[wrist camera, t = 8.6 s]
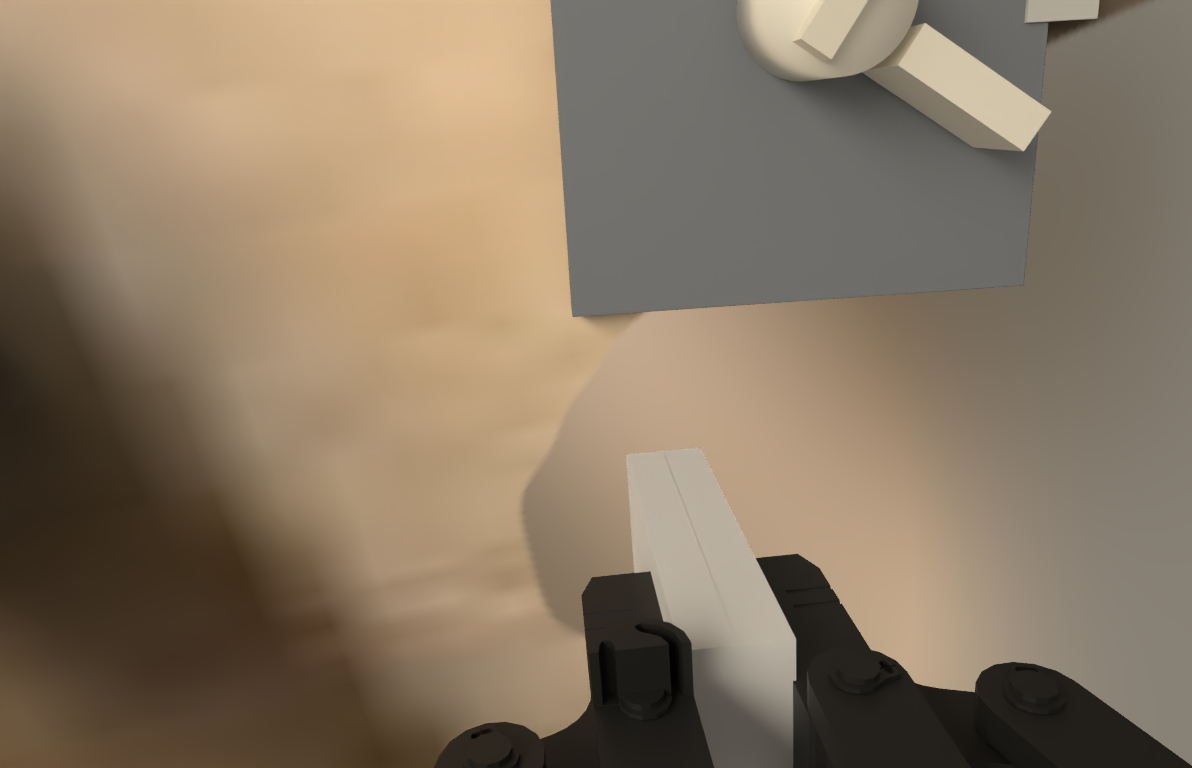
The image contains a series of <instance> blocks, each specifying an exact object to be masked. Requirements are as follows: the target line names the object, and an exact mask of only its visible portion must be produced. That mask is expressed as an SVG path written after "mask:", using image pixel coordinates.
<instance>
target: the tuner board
mask: <svg viewBox="0 0 1192 768" xmlns="http://www.w3.org/2000/svg"><path fill="white" fill-rule="evenodd" d="M1098 9H1099V0H919V1H918V6H917V10H916V13H915V17H914V19H913V21H912V24H911V26H915V25H919V24H923V23H926V24H928V25H929V26H930V27H932V28H933V29H935V30H936V31H938V32H939V33H940V34H942V35H943V36H945V37H946V38H947V39H949V40H950V41H952V42H953V43H955V44H956V45H957V46H959V47H960V48H962V49H963V50H965V51H966V52H967V53H969V54H970V55H972V56H973V57H974V58H976V59H977V60H979V61H980V62H982V63H983V64H984V65H986V66H987V67H989V68H990V69H992V70H993V71H994V72H996V73H997V74H999V75H1000V76H1002V77H1003V78H1004V79H1006V80H1007V81H1009V82H1010V83H1011V84H1013V85H1014V86H1016V87H1017V88H1019V89H1020V90H1021V91H1023V92H1024V93H1026V94H1027V95H1029V96H1030V97H1031V98H1033V99H1034V100H1036V101H1037V102H1038V103H1040V104H1041V97H1042V86H1043V76H1044V65H1045V55H1046V44H1047V34H1048V23H1049V21H1066V20H1083V19H1097V18H1098ZM551 12H552V27H553V41H554V56H555V71H556V85H557V100H558V115H559V129H560V144H561V158H562V173H563V188H564V202H565V217H566V232H567V246H568V261H569V276H570V290H571V305H572V315H573V317H578V316H593V315H607V314H621V313H636V312H650V311H664V310H679V309H693V308H707V307H722V306H736V305H750V304H765V303H779V302H792V301H808V300H822V299H835V298H851V297H865V296H878V295H894V294H908V293H922V292H936V291H951V290H965V289H979V288H994V287H1008V286H1022V285H1024V276H1025V266H1026V254H1027V245H1028V234H1029V223H1030V213H1031V202H1032V192H1033V181H1034V171H1035V160H1036V150H1037V138H1038V132H1037V133H1036V135H1035V136H1034V137H1033V139H1032V140H1031V142H1030V143H1029V145H1028V146H1027V148H1026V149H1025V150H1024V151H1012V150H1000V149H987V148H974V147H971V146H970V145H968V144H967V143H966V142H964V141H963V140H961V139H960V138H958V137H957V136H955V135H954V134H952V133H951V132H949V131H948V130H946V129H945V128H943V127H942V126H940V125H939V124H937V123H936V122H934V121H933V120H931V119H930V118H929V117H927V116H926V115H924V114H923V113H921V112H920V111H918V110H917V109H915V108H914V107H912V106H911V105H909V104H908V103H906V102H905V101H903V100H902V99H900V98H899V97H897V96H896V95H895V94H893V93H892V92H890V91H889V90H887V89H886V88H884V87H883V86H881V85H880V84H878V83H877V82H875V81H874V80H872V79H871V78H869V77H868V76H866V75H865V74H863V73H862V72H861V73H858V74H855V75H850V76H845V77H837V78H829V79H821V80H813V81H802V82H797V81H789V80H784V79H781V78H778V77H776V76H773V75H772V74H770V73H768V72H766V71H765V70H764V69H762V68H761V67H760V66H759V65H758V64H757V63H756V62H755V61H754V60H753V59H752V57H751V56H750V55H749V53H748V52H747V50H746V48H745V46H744V44H743V42H742V39H741V37H740V33H739V29H738V24H737V0H551ZM911 26H910V27H911Z"/></svg>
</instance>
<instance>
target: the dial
mask: <svg viewBox="0 0 1192 768" xmlns="http://www.w3.org/2000/svg"><path fill="white" fill-rule="evenodd" d="M918 1H919V0H737V24H738V29H739V33H740V37H741V39H742V42H743V44H744V46H745V48H746V50H747V52H748V53H749V55H750V56H751V57H752V59H753V60H754V61H755V62H756V63H757V64H758V65H759V66H760V67H761V68H762V69H764V70H765V71H766V72H768V73H770V74H772V75H773V76H776V77H778V78H781V79H784V80H789V81H797V82H802V81H813V80H821V79H829V78H837V77H845V76H850V75H855V74H858V73H861V72H862V73H863V74H865V75H866V76H868V77H869V78H871V79H872V80H874V81H875V82H877V83H878V84H880V85H881V86H883V87H884V88H886V89H887V90H889V91H890V92H892V93H893V94H895V95H896V96H897V97H899V98H900V99H902V100H903V101H905V102H906V103H908V104H909V105H911V106H912V107H914V108H915V109H917V110H918V111H920V112H921V113H923V114H924V115H926V116H927V117H929V118H930V119H931V120H933V121H934V122H936V123H937V124H939V125H940V126H942V127H943V128H945V129H946V130H948V131H949V132H951V133H952V134H954V135H955V136H957V137H958V138H960V139H961V140H963V141H964V142H966V143H967V144H968V145H970V146H971V147H974V148H987V149H1000V150H1012V151H1024V150H1025V149H1026V148H1027V146H1028V145H1029V143H1030V142H1031V140H1032V139H1033V137H1034V136H1035V135H1036V133H1037V132H1038V130H1039V129H1040V127H1041V126H1042V125H1043V123H1044V122H1045V120H1046V119H1047V117H1048V116H1049V114H1050V113H1051V111H1050V110H1048V109H1047V108H1046V107H1044V106H1043V105H1041V104H1040V103H1038V102H1037V101H1036V100H1034V99H1033V98H1031V97H1030V96H1029V95H1027V94H1026V93H1024V92H1023V91H1021V90H1020V89H1019V88H1017V87H1016V86H1014V85H1013V84H1011V83H1010V82H1009V81H1007V80H1006V79H1004V78H1003V77H1002V76H1000V75H999V74H997V73H996V72H994V71H993V70H992V69H990V68H989V67H987V66H986V65H984V64H983V63H982V62H980V61H979V60H977V59H976V58H974V57H973V56H972V55H970V54H969V53H967V52H966V51H965V50H963V49H962V48H960V47H959V46H957V45H956V44H955V43H953V42H952V41H950V40H949V39H947V38H946V37H945V36H943V35H942V34H940V33H939V32H938V31H936V30H935V29H933V28H932V27H930V26H929V25H928V24H926V23H923V24H919V25H915V26H911V24H912V21H913V19H914V17H915V13H916V10H917V6H918ZM910 26H911V27H910Z"/></svg>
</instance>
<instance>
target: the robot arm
mask: <svg viewBox="0 0 1192 768" xmlns="http://www.w3.org/2000/svg"><path fill="white" fill-rule="evenodd" d="M626 461H627V476H628V489H629V504H630V517H631V533H632V548H633V563H634V573H630V574H620V575H611V576H601V577H592V578H591V581H590V582H589V584H588V585H587V587H586V589H585V590H584V592H583V594H582V605H583V616H584V626H585V638H586V649H587V660H588V670H589V680H590V690H591V701H590V703H589V705H588V707H587V710H586V711H585V712H584V713H583V714H582V716H581V717H580V718H579V719H578V720H577V721H576V722H574V723H573V724H571V725H570V726H569V727H567V728H566V729H564V730H561V731H559V732H557V733H555V734H553V735H550V736H547V737H545V738H542V739H539V737H538V735H537V734H536V733H534V732H533V731H531V730H529V729H528V728H526V727H525V726H523V725H518V724H513V723H508V722H499V723H487V724H483V725H480V726H477V727H474V728H472V729H469V730H466V731H465V732H463V733H462V734H460V735H459V736H457V737H456V738H455V739H453V740H452V741H450V742H449V744H448V745H447V747H446V748H445V749H444V751H443V752H442V753H441V755H440V756H439V758H438V760H437V763H436V765H435V767H434V768H1192V766H1191V765H1190V764H1189V763H1187V762H1186V761H1184V760H1183V759H1182V758H1180V757H1179V756H1178V755H1176V754H1175V753H1173V752H1172V751H1171V750H1169V749H1168V748H1166V747H1165V746H1164V745H1162V744H1161V743H1160V742H1158V741H1157V740H1155V739H1154V738H1153V737H1151V736H1150V735H1149V734H1147V733H1146V732H1144V731H1143V730H1142V729H1140V728H1139V727H1137V726H1136V725H1135V724H1133V723H1132V722H1131V721H1129V720H1128V719H1126V718H1125V717H1124V716H1122V715H1121V714H1119V713H1118V712H1117V711H1115V710H1114V709H1112V708H1111V707H1110V706H1108V705H1107V704H1106V703H1104V702H1103V701H1102V700H1100V699H1099V698H1097V697H1096V696H1095V695H1093V694H1092V693H1091V692H1089V691H1088V690H1086V689H1085V688H1083V687H1082V686H1081V685H1080V684H1078V683H1076V682H1075V681H1074V680H1072V679H1070V678H1068V677H1066V676H1065V675H1063V674H1061V673H1059V672H1057V671H1055V670H1052V669H1048V668H1045V667H1042V666H1038V665H1035V664H1027V663H1016V662H1010V663H1003V664H996V665H993V666H991V667H989V668H988V669H986V670H984V671H982V672H981V674H980V676H979V678H978V679H977V681H976V686H975V692H967V691H957V690H948V689H939V688H933V687H928V686H922V685H919V684H916V683H914V681H913V680H912V678H911V677H910V675H909V674H908V673H907V671H906V670H905V669H904V668H903V667H902V666H901V665H900V664H899V663H898V662H897V661H896V660H893V659H891V658H890V657H888V656H886V655H884V654H882V653H880V652H877V651H872V650H870V648H869V646H868V645H867V643H866V642H865V640H864V639H863V637H862V635H861V634H860V632H859V630H858V629H857V627H856V626H855V624H854V623H853V621H852V620H851V618H850V616H849V615H848V613H847V611H846V610H845V608H844V607H843V605H842V604H840V601H839V599H838V598H837V596H836V594H835V592H834V591H833V590H832V589H831V588H830V585H829V583H828V581H827V580H826V578H825V577H824V575H823V573H822V572H821V570H820V569H819V568H818V567H817V566H815V565H814V564H812V563H811V562H809V561H808V560H806V559H805V558H803V557H801V556H800V555H798V554H792V555H783V556H772V557H763V558H755V556H754V554H753V552H752V550H751V548H750V546H749V544H748V542H747V540H746V538H745V536H744V534H743V532H742V530H741V528H740V526H739V524H738V522H737V520H736V518H735V516H734V514H733V512H732V510H731V508H730V506H729V504H728V502H727V500H726V498H725V496H724V494H723V492H722V490H721V488H720V486H719V484H718V482H717V480H716V478H715V476H714V474H713V472H712V470H711V468H710V466H709V464H708V462H707V460H706V458H705V456H704V454H703V452H702V450H701V448H700V447H698V448H688V449H679V450H678V449H677V450H668V451H657V452H647V453H636V454H627V455H626Z"/></svg>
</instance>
